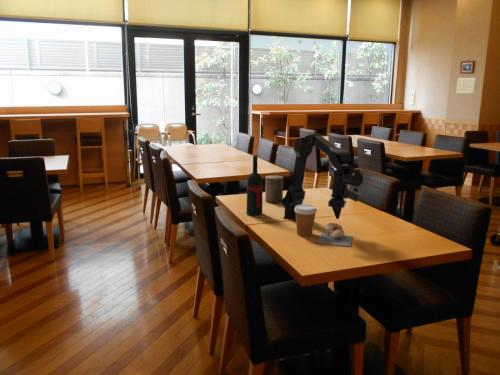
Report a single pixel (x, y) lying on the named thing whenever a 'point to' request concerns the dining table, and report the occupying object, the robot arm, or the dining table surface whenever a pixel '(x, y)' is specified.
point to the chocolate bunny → (334, 230)
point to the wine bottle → (254, 191)
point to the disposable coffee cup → (305, 219)
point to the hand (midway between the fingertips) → (337, 218)
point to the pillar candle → (274, 189)
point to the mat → (335, 240)
